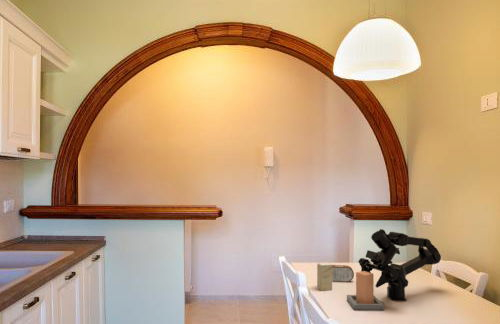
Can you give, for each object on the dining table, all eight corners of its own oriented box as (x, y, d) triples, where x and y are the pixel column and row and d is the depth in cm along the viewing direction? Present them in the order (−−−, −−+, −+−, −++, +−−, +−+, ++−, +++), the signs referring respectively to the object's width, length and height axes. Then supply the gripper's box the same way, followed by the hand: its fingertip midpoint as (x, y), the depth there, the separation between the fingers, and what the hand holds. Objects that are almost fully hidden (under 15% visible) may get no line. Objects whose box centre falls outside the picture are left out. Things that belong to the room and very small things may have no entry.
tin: (353, 281, 185) (353, 265, 185) (354, 283, 181) (354, 266, 182) (324, 280, 186) (324, 264, 186) (325, 282, 183) (324, 265, 183)
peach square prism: (364, 301, 153) (364, 270, 153) (373, 304, 148) (373, 273, 149) (356, 302, 151) (356, 272, 151) (364, 306, 146) (364, 275, 147)
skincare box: (321, 291, 168) (320, 265, 169) (316, 288, 172) (316, 263, 173) (332, 290, 170) (332, 264, 170) (328, 287, 174) (328, 262, 174)
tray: (374, 300, 156) (374, 295, 156) (383, 310, 144) (383, 305, 144) (346, 300, 156) (346, 294, 156) (354, 310, 144) (354, 304, 144)
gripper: (360, 240, 162) (342, 267, 157) (393, 247, 146) (374, 277, 140) (373, 255, 166) (356, 282, 160) (407, 264, 149) (389, 294, 144)
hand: (368, 283), depth 151 cm, fingers open, 9 cm apart
